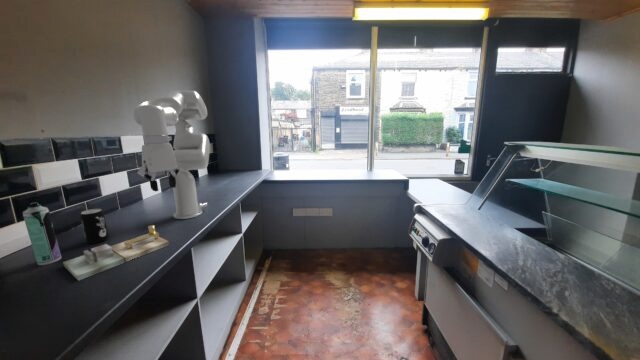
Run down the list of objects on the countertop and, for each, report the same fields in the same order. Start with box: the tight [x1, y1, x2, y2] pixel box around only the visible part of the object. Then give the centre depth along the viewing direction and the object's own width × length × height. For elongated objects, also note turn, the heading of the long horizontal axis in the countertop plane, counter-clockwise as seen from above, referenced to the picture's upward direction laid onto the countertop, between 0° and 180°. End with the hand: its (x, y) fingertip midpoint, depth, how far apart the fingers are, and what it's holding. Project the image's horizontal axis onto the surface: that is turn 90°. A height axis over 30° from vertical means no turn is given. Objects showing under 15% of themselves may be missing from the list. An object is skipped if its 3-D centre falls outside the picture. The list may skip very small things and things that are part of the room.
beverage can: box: [79, 208, 110, 245], centre depth 95 cm, size 7×7×12 cm
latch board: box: [62, 233, 170, 282], centre depth 85 cm, size 25×14×5 cm, turn 147°
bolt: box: [123, 224, 160, 248], centre depth 90 cm, size 10×2×5 cm, turn 147°
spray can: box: [22, 201, 62, 266], centre depth 80 cm, size 6×6×20 cm
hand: (164, 188), depth 95 cm, fingers open, 5 cm apart
